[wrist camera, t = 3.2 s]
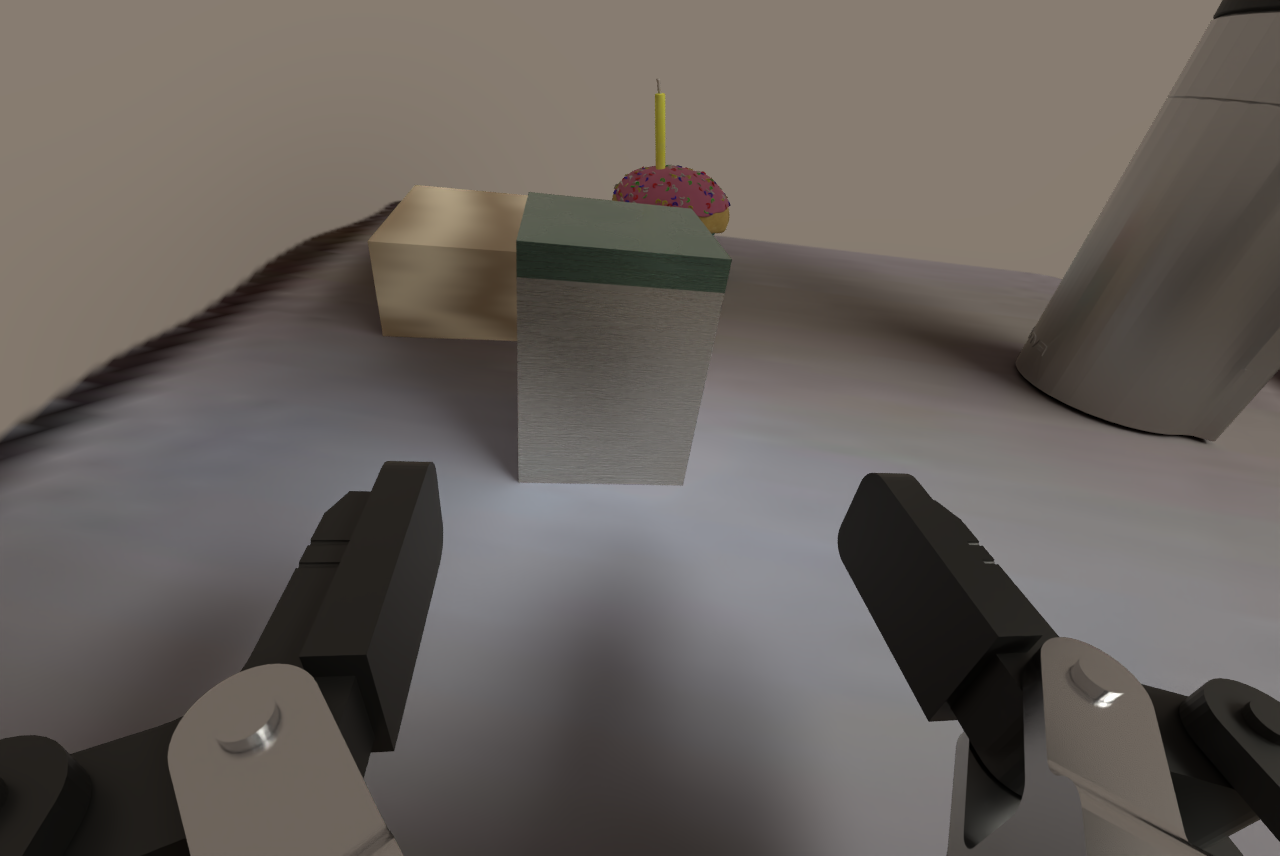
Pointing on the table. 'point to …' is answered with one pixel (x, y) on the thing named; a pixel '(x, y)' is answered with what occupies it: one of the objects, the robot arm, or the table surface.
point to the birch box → (448, 265)
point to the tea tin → (612, 338)
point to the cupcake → (674, 183)
